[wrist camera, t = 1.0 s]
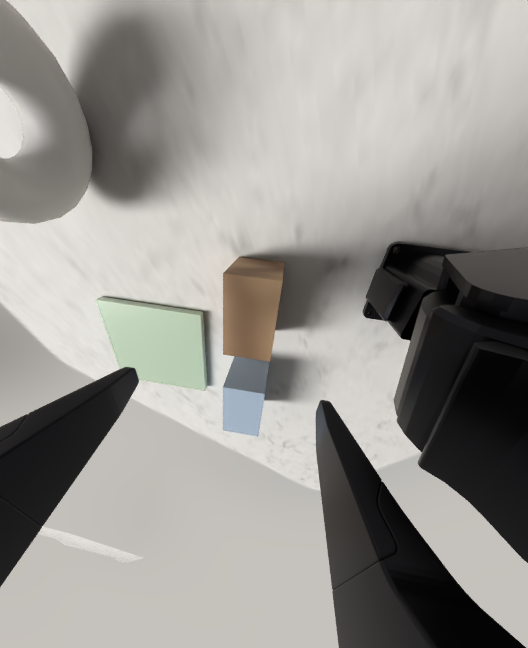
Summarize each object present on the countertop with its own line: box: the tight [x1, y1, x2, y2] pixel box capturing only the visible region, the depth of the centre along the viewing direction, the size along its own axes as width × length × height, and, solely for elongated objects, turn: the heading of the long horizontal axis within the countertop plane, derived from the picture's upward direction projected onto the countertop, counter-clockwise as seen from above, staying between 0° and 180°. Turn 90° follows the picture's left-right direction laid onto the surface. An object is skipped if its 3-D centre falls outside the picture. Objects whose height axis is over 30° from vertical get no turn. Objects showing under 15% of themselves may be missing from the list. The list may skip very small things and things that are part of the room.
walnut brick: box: [223, 257, 285, 362], centre depth 18 cm, size 4×7×5 cm, turn 174°
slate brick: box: [223, 356, 269, 436], centre depth 23 cm, size 4×7×5 cm, turn 174°
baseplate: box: [96, 297, 207, 391], centre depth 24 cm, size 11×11×1 cm
